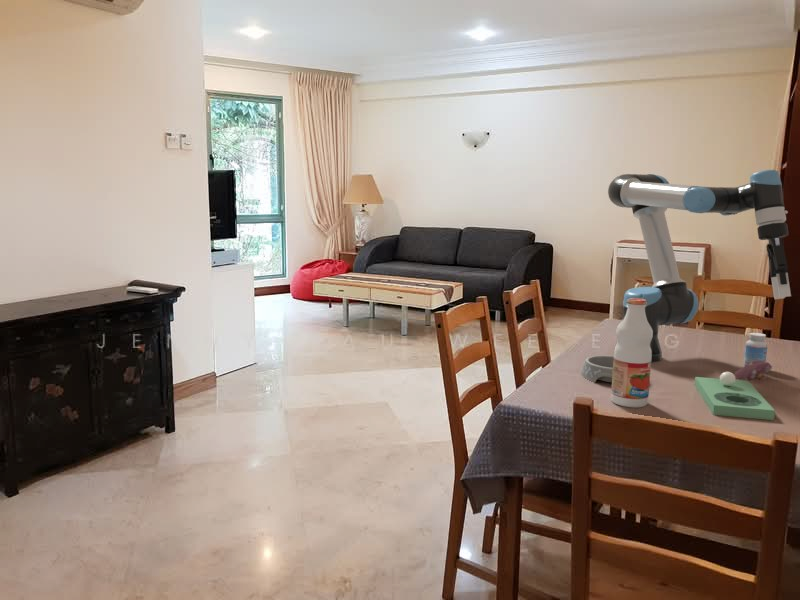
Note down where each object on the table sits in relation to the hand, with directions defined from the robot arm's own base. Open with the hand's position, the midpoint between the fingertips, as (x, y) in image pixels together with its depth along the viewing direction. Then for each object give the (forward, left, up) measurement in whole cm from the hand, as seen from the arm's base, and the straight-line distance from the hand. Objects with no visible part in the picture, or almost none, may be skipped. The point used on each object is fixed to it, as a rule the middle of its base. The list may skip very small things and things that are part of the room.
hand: (782, 297), depth 187 cm
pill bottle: (0, +20, -27) cm, 33 cm away
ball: (-15, -12, -22) cm, 29 cm away
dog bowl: (-45, -4, -27) cm, 52 cm away
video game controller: (-3, +9, -27) cm, 28 cm away
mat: (-15, -18, -26) cm, 35 cm away
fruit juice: (-42, -27, -27) cm, 56 cm away
